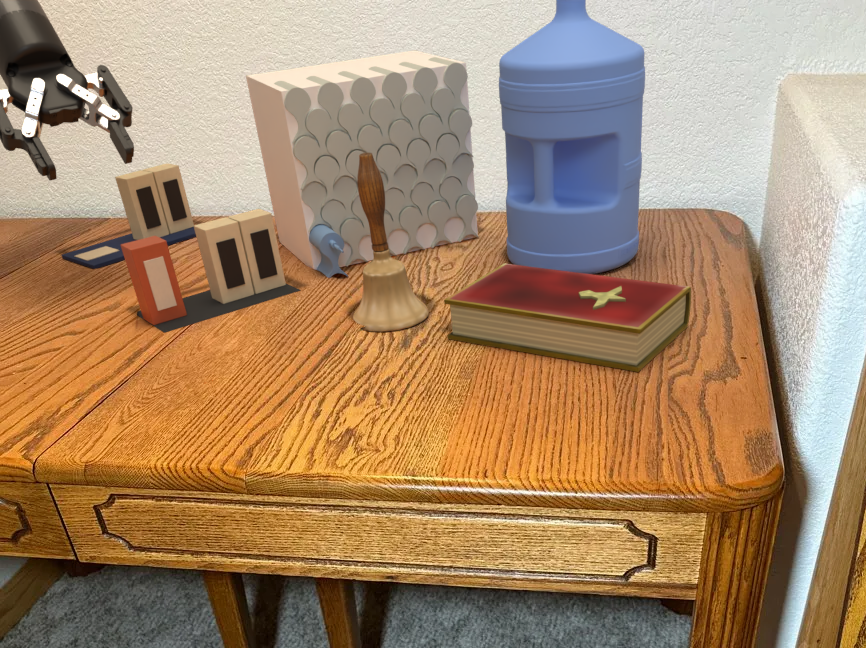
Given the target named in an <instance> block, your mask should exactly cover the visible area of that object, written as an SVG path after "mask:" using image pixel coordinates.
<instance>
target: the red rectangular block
mask: <svg viewBox="0 0 866 648" xmlns="http://www.w3.org/2000/svg"><path fill="white" fill-rule="evenodd" d="M121 248H122V251H123V255H124V258H125V260H124V261H125V264H126V267H127V271H128V274H129V277H130V280H131V283H132V286H133V289H134V293H135V296H136V300H137V302H138V305H139V310H141V312H142V316H143V319H145V320H146V321H145V320H144V321H145V322H147V321H148V322H149V323H148V322H147V323H148V324H150V323H151V324H153V325H156V324H160V323H163V322H166V321H170V320H173V319H176V318H179V317H183V316H186V315H187V313H186V309H185V306H184V302H183V299H182V298H183V295H182V292H181V289H180V284H179V281H178V277H177V274H176V270H175V267H174V264H173V260H172V256H171V253H170V248H169V246H168V245H167V242H166V240H164V239H161V238H159V237H157V236H152V237H148V238H144V239H140V240H136V241H132V242H128V243H125V244H121ZM143 319H142V320H143ZM151 324H150V325H151ZM153 325H152V326H153Z"/></svg>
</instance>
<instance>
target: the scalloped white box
mask: <svg viewBox="0 0 866 648" xmlns="http://www.w3.org/2000/svg"><path fill="white" fill-rule="evenodd" d="M245 78H246V84H247V88H248V94H249V98H250V103H251V107H252V113H253V118H254V122H255V128H256V132H257V138H258V142H259V148H260V153H261V157H262V163H263V166H264V172H265V177H266V181H267V186H268V191H269V197H270V201H271V206H272V212H273V216H274V221H275V226H276V231H277V235H278V241H279V243H280V244H281V245H282V246H283V247H285V248H286V249H287V250H288V251H289V252H290V253H291V254H292V255H294V256H295V257H296V258H297V259H298V260H299V261H300V262H302V263H303V264H304V265H305V266H306V267H309V268H310V269H313V270H315V271H317V272H320V273H321V274H323V275H324V276H325V277H326V278H328V279H331V278H332V277H333V276H334V275H336V274H342V275H344V276H346V277H349V275H348V274H347V273H346V272H345V271H344V270H342V269H341V268H342V267H347V268H348V267H349V266H352V265H357V264H361V263H365V262H366V263H369V262H371V261H372V260H373V259H374V255H373V249H372V243H371V234H370V227H369V222H368V219H367V217H366V215H365V212H364V210H363V208H362V204H361V201H360V197H359V192H358V184H357V178H358V169H359V155H360V154H362V153H372V155H373V158H374V161H375V163H376V165H377V167H378V169H379V172H380V174H381V177H382V180H383V185H384V191H385V211H384V226H385V232H386V237H387V243H388V248H389V251H390V256H391V257H393V256H396V257H397V255H402V254H403V255H406V254H407V253H411V252H416V251H420V250H424V251H425V250H426V249H430V248H432V249H434V248H435V247H437V246H438V247H439V246H443V245H448V244H453V243H457V242H458V243H461V242H462V241H466V240H470V239H474V238H478V239H480V236H479V232H478V230H479V229H478V215H477V212H478V210H479V204H478V201H477V199H476V188H475V172H474V171H475V170H474V168H475V163H474V160H473V158H474V155H473V146H472V144H473V143H472V130H471V129H472V126H473V119H472V116H471V113H470V102H469V86H468V85H469V84H468V79H469V76H468V71H467V62H466V61H461V60H457V59H452V58H449V57H444V56H440V55H436V54H432V53H428V52H423V51H420V50H416V49H414V50H409V51H400V52H393V53H388V54H381V55H375V56H367V57H361V58H354V59H348V60H340V61H334V62H327V63H320V64H314V65H307V66H301V67H295V68H294V67H293V68H288V69H281V70H273V71H268V72H260V73H255V74H248V75H245Z"/></svg>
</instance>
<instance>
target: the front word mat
mask: <svg viewBox="0 0 866 648" xmlns="http://www.w3.org/2000/svg"><path fill="white" fill-rule="evenodd" d="M274 224H275V223H274V219H273V215H272V213H271V212H270V211H267V210H264V209H261V208H256V209H252V210H249V211H244V212H241V213H237V214H236V213H235V214H232V215H229V216H228V217H226V216H225V217H221V218H217V219H214V220H210V221H205V222H202V223H197V224H194V229H195V233H196V237H195V238H196V240H197V245H198V249H199V252H200V256H201V260H202V264H203V267H204V272H205V275H206V280H207V284H208V287H209V290H205V291H202V292H199V293H195V294H191V295H189V296H188V295H187V296H185V297H182V299H183V302H184V306H185V309H186V313H187V315H186V316H183V317H179V318H176V319H173V320H170V321H166V322H163V323H160V324H156V325H153V324H151V323H149V322H148V321H146V320H145V319H143V316H142V312H141V309H139V310H137V311H136V316H137V317H138V318H140V319H142V320H144V321H145V322H147V324H150V325H152V326H153V327H154V328H156V329H158V330H159V331H160V332H162V333H164V334H166V333H169V332H171V331H175V330H178V329H182V328H185V327H188V326H191V325H194V324H198V323H201V322H205V321H207V320H211V319H215V318H217V317H220V316H223V315H226V314H230V313H234V312H236V311H239V310H243V309H246V308H249V307H253V306H255V305H259V304H262V303H265V302H269V301H272V300H275V299H278V298H281V297H285V296H288V295H291V294H294V293H298V292H300V291H301V289H299V288H297V287H295V286H293V285H291V284H289V283H287V282H286V278H285V273H284V268H283V262H282V258H281V253H280V250H279V248H280V247H279V244H278V239H277V234H276V230H275V225H274Z"/></svg>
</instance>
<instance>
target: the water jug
mask: <svg viewBox="0 0 866 648" xmlns="http://www.w3.org/2000/svg"><path fill="white" fill-rule="evenodd" d="M586 2H587V1H586V0H555V14H554V17H553V18H552V20H551V21H549V22H548V23H547V24H545V25H544V26H543V27H541V28H539V29H538V30H536V32H533V34H531V35H530V36H528V37H526V38H525V39H524V40H522V41H520V43H518V44H517V45H516V46H513V47H512V48H511V49H510V50H508V51H507V52H505V53H504V54H503V55H502V56H500V59H499V62H498V64H499V65H498V70H499V77H498V96H499V97H498V99H499V105H500V109H501V128H502V130H503V131H504V141H505V143H504V144H505V163H506V164H505V166H506V183H507V184H506V185H507V186H506V187H507V188H506V198H505V211H506V230H507V232H506V233H507V237H506V255H507V258H508V260H509V261H510V264H513V265H521V266H529V267H537V268H545V269H553V270H561V271H569V272H577V273H585V274H593V275H598V274H601V273H605V272H609V271H613V270H615V269H618V268H621V267H623V266H624V265H626V264H628V263H629V262H631V260H633V258H635V256H636V255H637V253H638V252H639V251H638V250H639V245H640V231H639V214H640V212H639V210H640V187H641V186H640V185H641V184H640V183H641V178H642V171H643V170H642V169H643V168H642V167H643V153H642V133H643V110H644V109H643V105H644V95H645V88H646V67H645V50H644V47H643V46H642V45H641V44H639V43H637V42H636V41H634V40H632V39H630V38H629V37H627V36H624V35H623V34H620V33H619V32H617V31H615V30H614V29H612V28H610V27H608V26H606V25H604V24H602V23H600V22H598V21H597V20H595V19H593V18H591V17H590V16H589V14H588V12H587V6H586V5H587V3H586Z"/></svg>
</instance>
